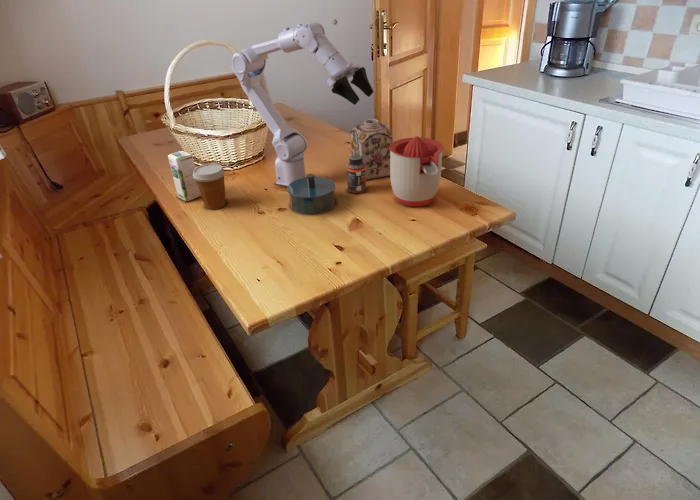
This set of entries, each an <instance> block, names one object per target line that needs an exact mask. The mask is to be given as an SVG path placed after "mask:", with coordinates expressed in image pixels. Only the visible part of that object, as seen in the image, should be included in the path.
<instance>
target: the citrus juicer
mask: <svg viewBox="0 0 700 500" xmlns="http://www.w3.org/2000/svg"><path fill="white" fill-rule="evenodd" d="M389 149H390V175H389V176H390V186H391V190H392V193H393V196H394V198H395V200H396V202H398V204H401V205H403V206H405V207H409V208H413V207H423V206H424V207H425V206H427V205H430V204H431V203H432V202H433V201H434V200H435V198H436V196H437V193H438V190H439V187H440V183H441V177H442V166H443V165H442V164H443V152H444V151H443V150H444V149H445V147H444V145H443V143H442V142H440V141H438V140H436V139H432V138H429V137H428V138H426V137H420V136H418V135H417V136H416V135H415V136H413V137H405V138H400V139H397V140H395V141H393V143H392V144H391V145H390V147H389Z"/></svg>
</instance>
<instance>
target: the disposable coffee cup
mask: <svg viewBox="0 0 700 500" xmlns="http://www.w3.org/2000/svg"><path fill="white" fill-rule="evenodd" d="M225 172H226V171H225V169H224V167H223V166H222V165H221V164H219V163H205V164H201V165H199V166H195V169H194V170H193V175H192V176H193V178H194V179H195V180H196V183H197V186H198V188H199V191H200V193H201V196H200V197H201V198H202V201H203V204H204V206H205V208H206V209H207V210H217V209H221V208H223V207H225V206H226V204H227V202H226V184H225Z"/></svg>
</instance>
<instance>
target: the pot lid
mask: <svg viewBox="0 0 700 500" xmlns="http://www.w3.org/2000/svg"><path fill="white" fill-rule="evenodd" d="M305 176H306V177H305V178H301V179H298V180H295V181H293V182H292V183H290V184H289V185H288V186H286V188H287V189H286V190H287V193H288V195H289V194H290V195H292V196H294V197H297V198H302V199H313V198H319V197H323V196H326V195H328V194H330V193H332V192H333V191H335V190H336V183H335V182H334V180H332V179H330V178H329V177H328V178H327V177H324V176H315V174H314V173H308V174H305Z"/></svg>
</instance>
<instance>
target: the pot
mask: <svg viewBox="0 0 700 500" xmlns="http://www.w3.org/2000/svg"><path fill="white" fill-rule="evenodd" d="M335 193H336V192H335V190H334V191H333V192H332V193H330V194H328V195H326V196H323V197H319V198H313V199H302V198H297V197H294V196H292V195H290V194H289V193H288V197H289V205H290V208H291V210H293V211H294V212H295V213H298V214H302V215H318V214H323V213H325V212H328V211H330V210H332V209H333V208H334V207H335V205H336V194H335Z"/></svg>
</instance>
